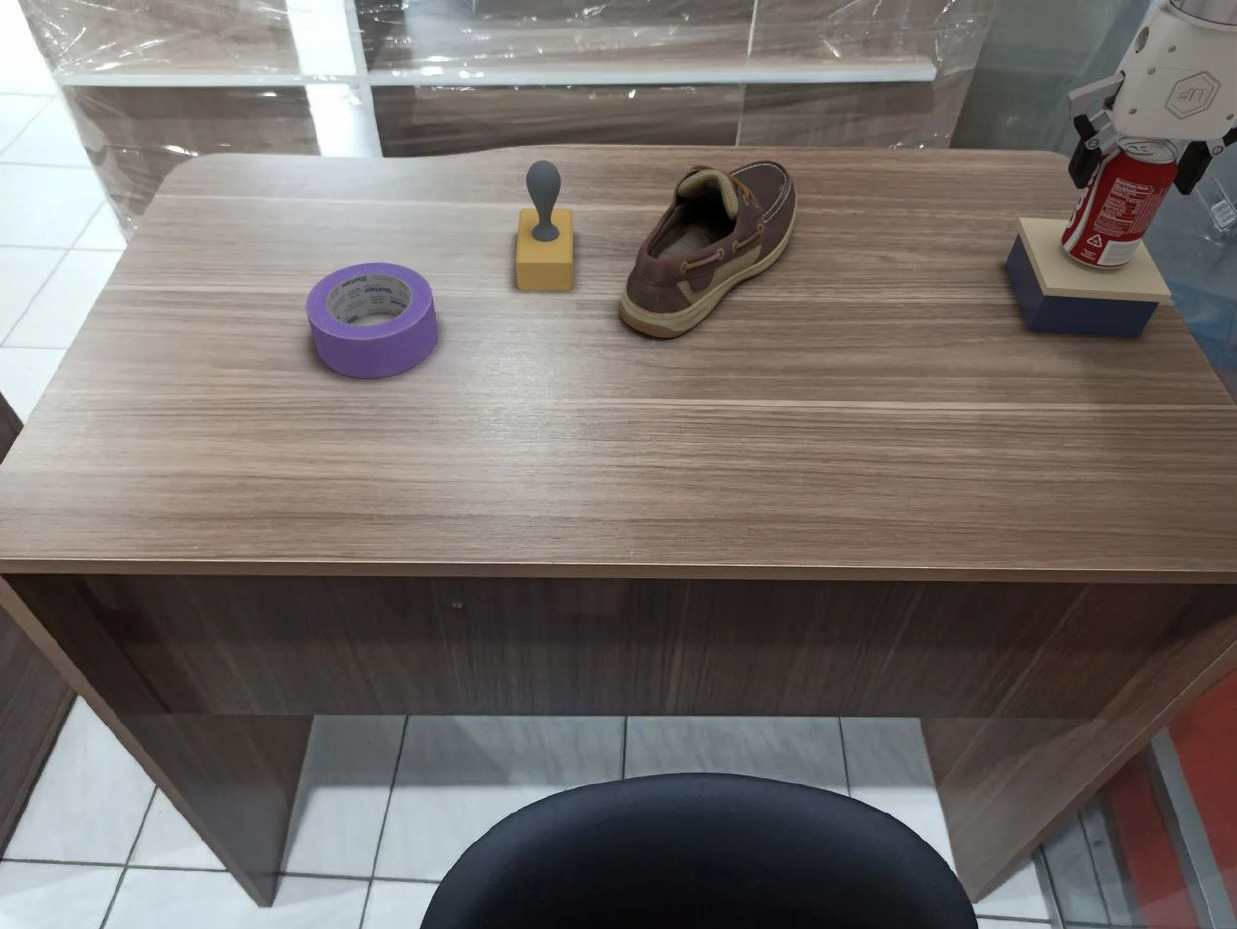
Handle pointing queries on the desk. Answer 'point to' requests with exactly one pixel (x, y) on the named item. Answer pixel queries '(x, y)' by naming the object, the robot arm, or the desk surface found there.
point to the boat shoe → (708, 245)
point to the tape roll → (377, 344)
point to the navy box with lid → (1080, 286)
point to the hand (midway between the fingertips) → (1127, 184)
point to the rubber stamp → (544, 234)
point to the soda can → (1120, 201)
